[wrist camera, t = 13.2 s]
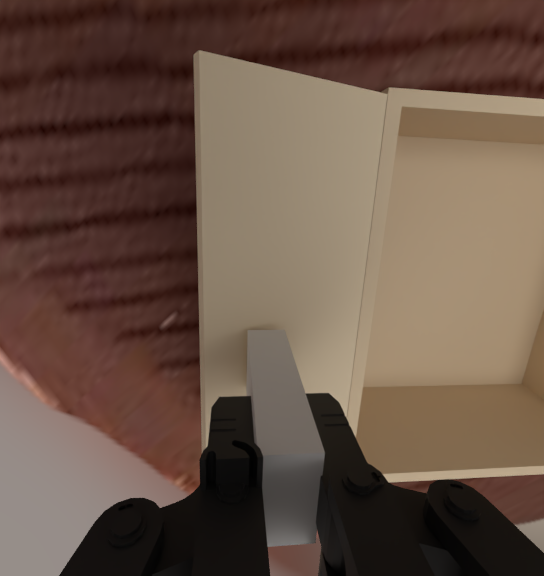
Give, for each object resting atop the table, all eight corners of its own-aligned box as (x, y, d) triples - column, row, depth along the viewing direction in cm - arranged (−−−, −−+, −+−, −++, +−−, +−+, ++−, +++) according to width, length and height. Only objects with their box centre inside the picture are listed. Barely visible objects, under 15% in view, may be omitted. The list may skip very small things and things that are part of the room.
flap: (378, 96, 15) (193, 54, 11) (387, 94, 14) (199, 50, 10) (331, 487, 21) (204, 554, 17) (336, 493, 20) (207, 564, 16)
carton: (329, 121, 25) (389, 87, 15) (594, 138, 27) (790, 118, 17) (306, 393, 31) (338, 487, 22) (520, 388, 34) (633, 471, 24)
